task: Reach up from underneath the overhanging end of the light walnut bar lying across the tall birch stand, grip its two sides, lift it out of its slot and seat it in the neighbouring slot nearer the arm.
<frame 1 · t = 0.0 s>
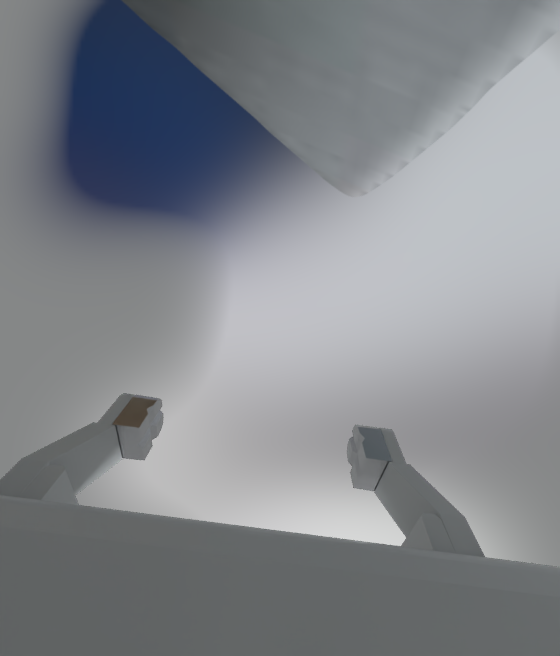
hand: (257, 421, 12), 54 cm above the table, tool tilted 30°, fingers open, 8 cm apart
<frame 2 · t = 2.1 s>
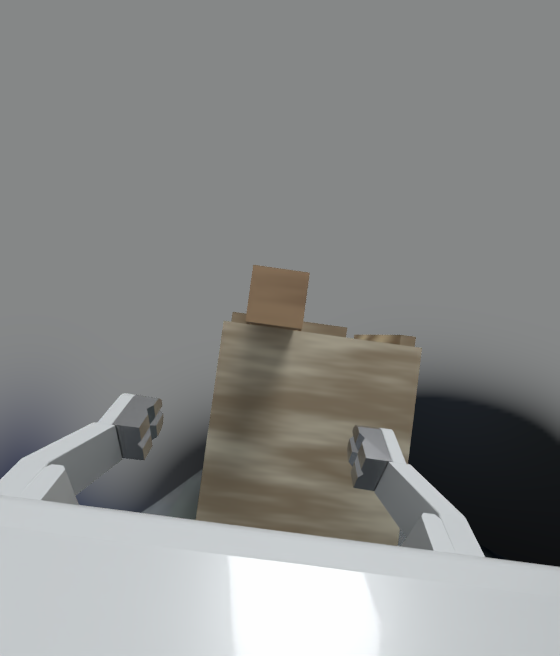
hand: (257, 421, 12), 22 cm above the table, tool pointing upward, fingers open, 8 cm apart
slotted stand: (285, 538, 35), on the table
rail bar: (273, 328, 29), point 26 cm above the table, touching slotted stand
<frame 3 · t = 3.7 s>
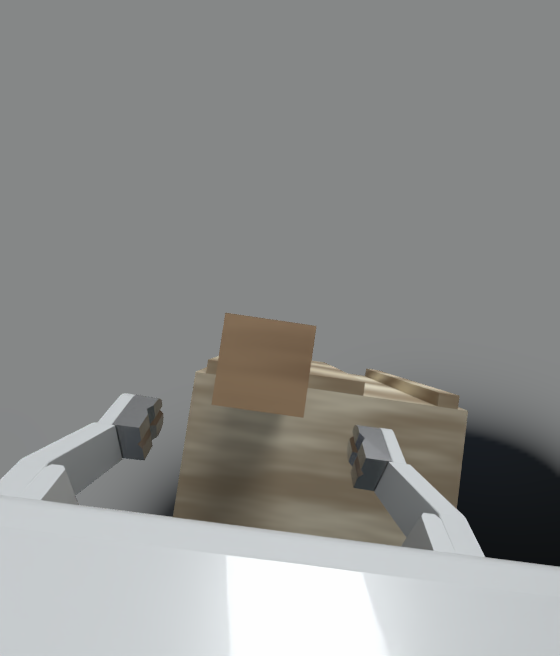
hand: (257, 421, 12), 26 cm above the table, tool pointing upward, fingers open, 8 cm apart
slotted stand: (279, 640, 27), on the table
rail bar: (265, 377, 22), point 26 cm above the table, touching slotted stand
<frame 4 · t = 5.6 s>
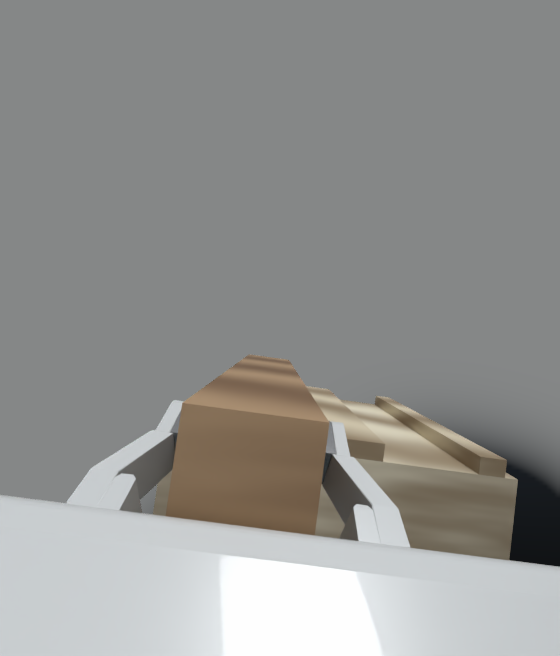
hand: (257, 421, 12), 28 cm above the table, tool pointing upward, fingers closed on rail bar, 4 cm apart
rail bar: (257, 432, 17), point 26 cm above the table, touching gripper, slotted stand
when the fingers open (30 cm above the table, at t = 10.0 s): rail bar drops 1 cm, resting on slotted stand.
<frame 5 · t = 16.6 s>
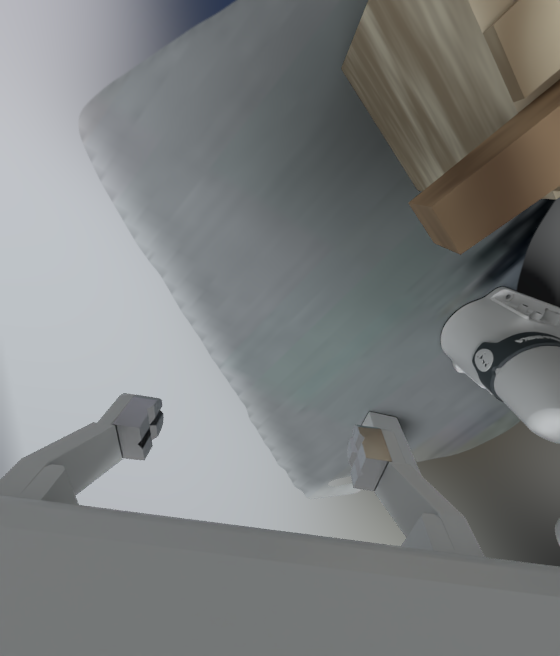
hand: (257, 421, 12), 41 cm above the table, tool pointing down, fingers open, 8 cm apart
slotted stand: (433, 85, 37), on the table
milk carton: (376, 423, 67), on the table
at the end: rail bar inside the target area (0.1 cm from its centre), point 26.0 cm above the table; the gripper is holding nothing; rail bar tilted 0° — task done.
